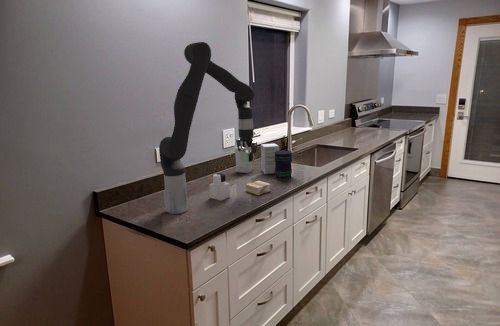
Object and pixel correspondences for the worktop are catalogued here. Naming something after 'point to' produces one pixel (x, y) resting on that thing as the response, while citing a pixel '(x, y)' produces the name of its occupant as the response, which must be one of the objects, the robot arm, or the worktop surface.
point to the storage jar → (283, 164)
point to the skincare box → (242, 163)
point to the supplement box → (268, 157)
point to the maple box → (258, 187)
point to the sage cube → (245, 156)
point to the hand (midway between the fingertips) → (247, 160)
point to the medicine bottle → (219, 187)
